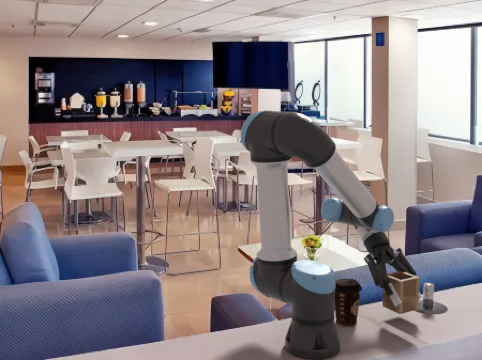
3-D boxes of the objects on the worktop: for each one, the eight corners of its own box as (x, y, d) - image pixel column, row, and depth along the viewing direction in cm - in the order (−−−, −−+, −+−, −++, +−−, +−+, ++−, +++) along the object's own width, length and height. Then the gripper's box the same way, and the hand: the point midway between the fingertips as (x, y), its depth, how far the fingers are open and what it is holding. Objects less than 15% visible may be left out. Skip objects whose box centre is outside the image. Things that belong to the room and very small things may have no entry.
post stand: (402, 313, 189) (403, 286, 187) (415, 302, 198) (416, 276, 197) (440, 321, 182) (441, 293, 180) (452, 309, 191) (453, 282, 190)
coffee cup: (359, 318, 185) (360, 277, 183) (362, 328, 177) (363, 286, 175) (331, 317, 186) (332, 277, 184) (332, 327, 178) (333, 286, 176)
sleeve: (382, 306, 182) (383, 274, 180) (400, 301, 185) (401, 270, 184) (399, 314, 175) (400, 281, 174) (418, 309, 179) (419, 277, 177)
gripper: (391, 238, 196) (426, 301, 184) (342, 247, 186) (376, 314, 175) (403, 226, 190) (440, 289, 179) (353, 234, 181) (389, 302, 169)
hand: (408, 301), depth 177 cm, fingers closed on sleeve, 7 cm apart
